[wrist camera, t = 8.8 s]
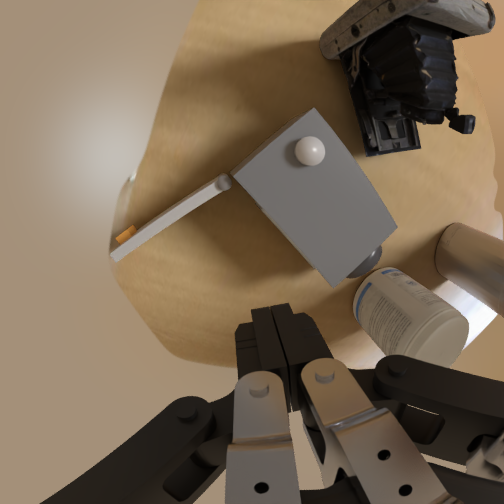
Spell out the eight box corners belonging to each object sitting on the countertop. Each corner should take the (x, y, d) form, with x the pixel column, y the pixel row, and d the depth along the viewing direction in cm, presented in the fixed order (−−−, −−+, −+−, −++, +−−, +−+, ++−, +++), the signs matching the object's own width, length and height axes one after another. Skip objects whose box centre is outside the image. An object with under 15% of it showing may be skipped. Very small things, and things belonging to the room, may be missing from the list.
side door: (134, 243, 29) (115, 264, 23) (124, 230, 28) (104, 247, 22) (230, 180, 28) (234, 185, 22) (221, 165, 27) (222, 166, 21)
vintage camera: (344, 156, 29) (486, 180, 11) (312, 37, 24) (416, -45, 5) (404, 146, 30) (534, 167, 11) (377, 39, 24) (490, -5, 6)
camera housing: (371, 225, 32) (410, 245, 24) (318, 274, 33) (346, 307, 25) (291, 119, 27) (317, 105, 19) (227, 174, 28) (231, 178, 20)
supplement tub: (366, 334, 38) (415, 399, 24) (338, 296, 35) (396, 366, 21) (412, 294, 37) (473, 345, 23) (391, 250, 34) (466, 298, 20)
